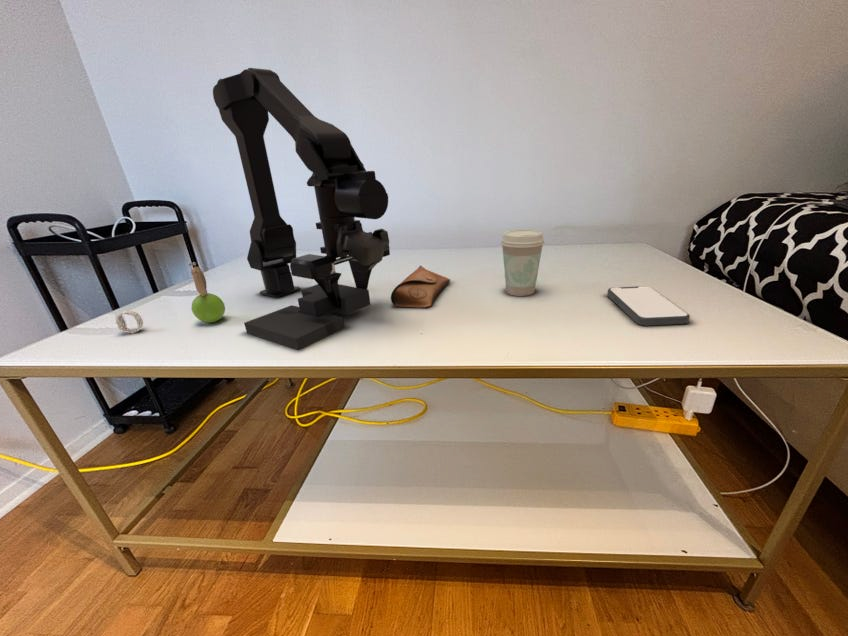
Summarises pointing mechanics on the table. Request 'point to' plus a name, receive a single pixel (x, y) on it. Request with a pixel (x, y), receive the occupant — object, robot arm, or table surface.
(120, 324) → the beige textured ring
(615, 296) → the phone case
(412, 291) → the sunglasses case
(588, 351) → the table surface
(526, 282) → the coffee cup
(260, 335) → the notched pad
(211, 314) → the green ball with stick
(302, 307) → the pad
